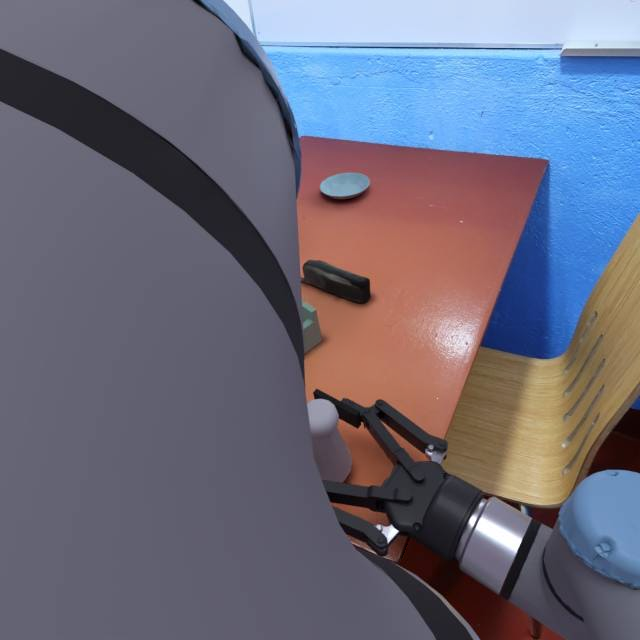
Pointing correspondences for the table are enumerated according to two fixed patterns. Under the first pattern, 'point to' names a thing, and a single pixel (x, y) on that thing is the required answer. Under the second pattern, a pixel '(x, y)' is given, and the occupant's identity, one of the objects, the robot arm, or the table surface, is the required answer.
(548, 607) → the robot arm
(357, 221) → the table surface
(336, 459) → the salt shaker
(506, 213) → the table surface
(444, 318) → the table surface
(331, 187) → the saucer
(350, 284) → the black stapler
